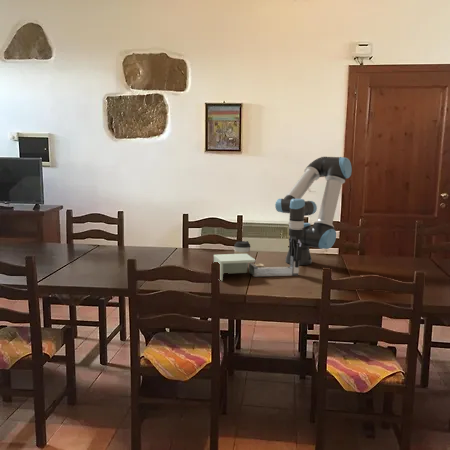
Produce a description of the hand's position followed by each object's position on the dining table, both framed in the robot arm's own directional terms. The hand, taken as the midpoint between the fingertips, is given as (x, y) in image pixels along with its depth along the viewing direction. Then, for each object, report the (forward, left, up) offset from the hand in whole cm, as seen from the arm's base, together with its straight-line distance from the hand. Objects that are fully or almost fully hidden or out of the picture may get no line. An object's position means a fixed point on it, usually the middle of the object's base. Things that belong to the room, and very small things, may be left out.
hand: (294, 272), depth 272 cm
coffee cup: (+24, -19, -2) cm, 30 cm away
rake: (+11, -3, -1) cm, 11 cm away
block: (+19, -5, -1) cm, 19 cm away
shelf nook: (+33, -3, -2) cm, 33 cm away
